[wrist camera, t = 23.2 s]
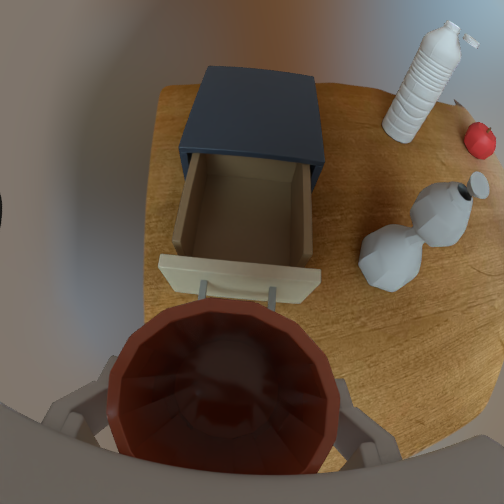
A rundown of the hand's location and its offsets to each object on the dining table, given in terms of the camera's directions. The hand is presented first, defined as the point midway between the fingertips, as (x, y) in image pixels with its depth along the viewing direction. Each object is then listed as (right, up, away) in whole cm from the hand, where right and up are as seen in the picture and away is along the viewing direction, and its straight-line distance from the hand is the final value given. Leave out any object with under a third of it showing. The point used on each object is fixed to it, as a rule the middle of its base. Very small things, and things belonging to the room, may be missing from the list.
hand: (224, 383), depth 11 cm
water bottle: (+28, +26, +34) cm, 51 cm away
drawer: (0, +5, +22) cm, 22 cm away
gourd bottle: (+17, +3, +23) cm, 29 cm away
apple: (+50, +28, +36) cm, 67 cm away
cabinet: (+1, +19, +28) cm, 34 cm away
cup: (0, -2, +4) cm, 5 cm away
